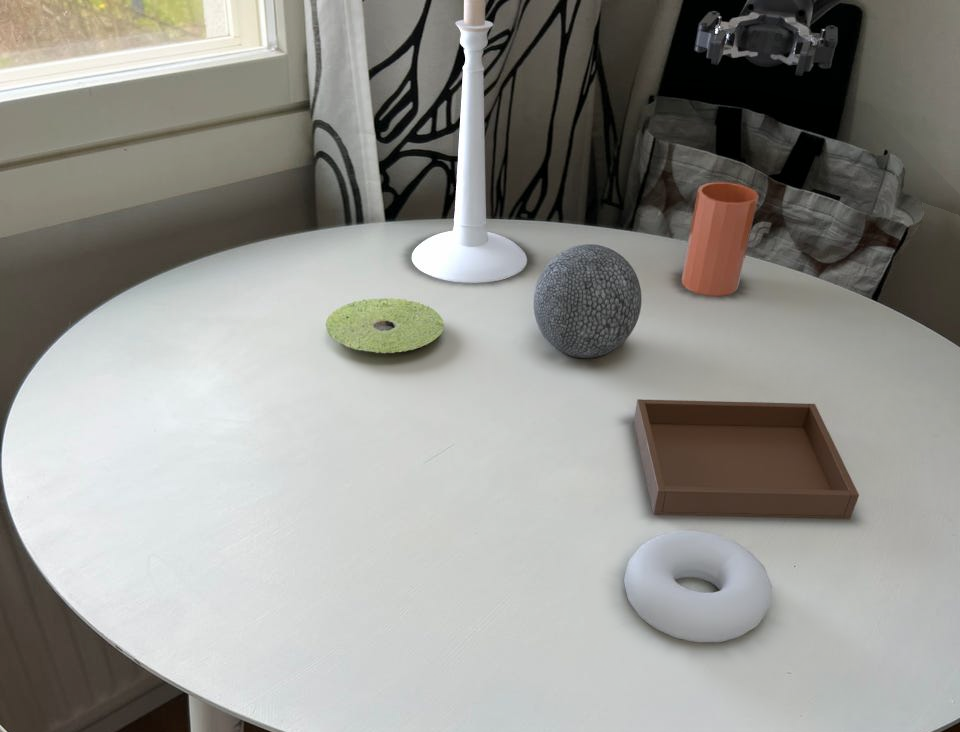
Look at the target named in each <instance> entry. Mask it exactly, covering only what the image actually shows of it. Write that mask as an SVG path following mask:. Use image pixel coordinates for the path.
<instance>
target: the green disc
mask: <svg viewBox="0 0 960 732" xmlns="http://www.w3.org/2000/svg"><path fill="white" fill-rule="evenodd" d="M325 329H326V332H327V333H328V335H329V336H330V337H331V338H332V339H333V340H334V341H336V342H337V343H339V344H341V345H343V346H344V347H346V348H351V349H352V350H356V351H363V352H372V353H376V354H380V353H381V354H387V353H388V354H395V353H401V352H407V351H413V350H417V349H418V348H422V347H423V346H427V345H429V344H430V343H432V342H434V341H435V340H436V339H438V337H440V336H441V335H442V333H443V331H444V319H443V318H442V316H441V315H440V313H438V311H436V310H434V309H433V308H431V307H430V306H429V305H424V304H423V303H420V302H417V301H413V300H407V299H400V298H391V297H390V298H370V299H369V298H368V299H362V300H357V301H353V302H350V303H348V304H345V305H343V306H341V307H339V308H337V309H335V310H334V311H333V312H332V313H331V314H330V315H329V316H328V318H327V319H326V322H325Z"/></svg>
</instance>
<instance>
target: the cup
mask: <svg viewBox="0 0 960 732" xmlns="http://www.w3.org/2000/svg"><path fill="white" fill-rule="evenodd" d="M758 203H759V193H758V192H757V191H756V190H755V189H753V188H751V187H750V186H746V185H743V184H741V183H736V182H735V183H734V182H727V181H726V182H725V181H715V182H708V183H704V184H702V185H700V186H699V188H698V189H697V192H696V197H695V202H694V208H693V214H692V218H691V219H692V220H691V225H690V230H689V235H688V240H687V247H686V252H685V257H684V264H683V269H682V274H681V284H682V286H683V287H684V288H685V289H686V290H688V291H690V292H692V293H695V294H698V295H702V296H708V297H724V296H729V295H732V294H734V293H735V292H736V291H738V288H739V285H740V281H741V276H742V272H743V268H744V263H745V259H746V256H747V255H746V254H747V250H748V246H749V241H750V237H751V232H752V228H753V223H754V219H755V214H756V210H757V206H758Z"/></svg>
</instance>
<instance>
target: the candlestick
mask: <svg viewBox="0 0 960 732" xmlns="http://www.w3.org/2000/svg"><path fill="white" fill-rule="evenodd" d="M454 24H455V25H456V26H457V28H458V29H459V31H460V39H459V44H460V45H461V47H463V53H464V57H465V61H464V65H463V66H462V85H461V103H460V121H459V135H458V136H459V137H458V153H457V154H458V155H457V169H456V187H455V188H456V189H455V203H454V205H455V206H454V218H453V228H452V230H449V231H444V232H441V233H437V234H435V235H432V236H430V237H428V238H427V239H425V240H424V241H422V242H421V243H420V244H418V245H417V246H416V247H415V249H414V250H413V252H412V253H411V261H412V263H413V265H414V266H415V267H416V268H417V269H418V270H419V271H421V272H422V273H424V274H426V275H428V276H430V277H433V278H436V279H439V280H443V281H448V282H453V283H454V282H455V283H465V284H482V283H492V282H498V281H502V280H504V279H508V278H511V277H513V276H515V275H517V274H519V273H520V272H521V271H523V270H524V269H525V267H526V266H527V263H528V258H527V255H526V253H525V251H524V250H523V249H522V248H521V247H520V246H519V245H518V244H516V243H515V242H514V241H512V240H510V239H509V238H507V237H505V236H503V235H500V234H497V233H494V232H490V231H488V228H487V222H488V219H487V203H486V202H487V199H486V197H487V196H486V146H485V145H486V144H485V83H484V81H485V80H484V70H485V67H484V65H483V61H482V57H483V54H484V49H485V48H486V47H487V46H488V42H489V41H488V32H489V30H491V28H492V27H493V26H494V23H493V22H492V21H489V20H486V0H463V19H460V20H457V21H455V23H454Z"/></svg>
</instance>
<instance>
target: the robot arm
mask: <svg viewBox="0 0 960 732" xmlns="http://www.w3.org/2000/svg"><path fill="white" fill-rule="evenodd" d="M843 1H844V0H746V2H745V4H744V6H743V8H742V10H741V12H740V14H739V16H736V17H731V19H729V21H722V16H721V13H720V12H718V11H716V10H712V11H709V12H707V14H706V15H704V17H703V18H702V19H701V21H700V22H699V23H698V27H697V32H696V38H695V43H694V49H693V50H694V51H695V52H697V53H699V54H701V53H705V52H706V55H705V56H706V59H708V60H711V61H710V65H716V66H717V65H719V63H720V62H721V59H722V57H723V56H727V57H730V58H732V59H735V58H736V59H737V58H740V57H745V59H746V60H748V61H749V62H750V63H751V64H754V65H755V66H758V67H764V68H771V67H776V66H780V65H782V64H786V65H787V66H796V69H795V73H794V76H800V77H801V76H803V74H804V72H811V70H812V68H813V66H814V64H815V63H818V68H819V67H820V68H821V69H824V70H826V69H831V67H832V63H833V58H834V54H835V51H836V50H835V49H836V47H837V44H838V37H839V28H838V26H835V25H832V24H829V25H826V26H825V28H821V30H820V33H818V32H812V30H811V25H812V24H814V23H816V21H818V19H820V18H821V17H822V16H823V15H825V14H826V13H827V12H828V11H830V10H831V9H832V8H834V7H835V6H837V5H838V4H840V3H841V2H843Z"/></svg>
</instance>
